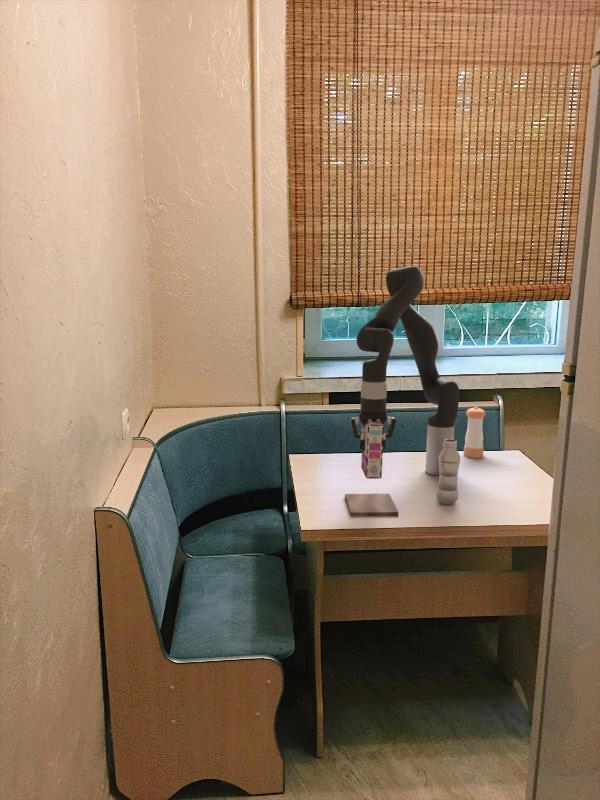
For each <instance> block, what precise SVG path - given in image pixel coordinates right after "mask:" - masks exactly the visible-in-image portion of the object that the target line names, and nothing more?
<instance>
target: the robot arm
mask: <svg viewBox="0 0 600 800" xmlns="http://www.w3.org/2000/svg"><path fill="white" fill-rule="evenodd" d="M424 279H425V278H424V274H423V272H422V270H421V268H420V267H418V266H415V265H411V266H409V265H408V266H406V267H405V266H404V267H399V268H396V269H395V268H393V269H391V270H389V271H388V272H386V274H385V285H386V287H387V288H386V289H387V291H388V294H389V296H390V297H389V298H387V299H386V300H385V301H384V302H383V303H382V304H381V305H380V306H379V308H378V309H377V311H376V313H375V315H374V317H373V318H371V319H370V320H369V321H368V322H367V323H365V324H364V325H363V326H362V327H361V328H360V330H359V331H358V333H357V335H356V346H357V347H358V349H359V350H360V351H362V352H366V353H367V352H368V353H378V356H377V358H374V359H367V360H365V361H363V363H362V368H361V369H362V373H361V374H362V377H361V378H362V379H361V386H360V412H359V415H358V416H355V417H352V416H351V417H349V422H350V426H351V430H352V435H353V437H354V438H355V439H359V441H358V442H359V443H358V445H359V446H358V447H359V449H360V451H361V453H362V452H365V440H364V438H365V433H366V422H372V421H376V422H382V424H383V425H385V424H386V422H387V423H388V427H387V431H386V432H384V433H383V451H385V450H386V440H387V439H391V438H392V437H393V434H394V430H395V426H396V423H397V418H395V416H388V415H387V396H388V392H387V391H388V390H387V389H388V387H387V367H388V363H389V359H390V355H391V351H392V349H393V346H394V341H395V337H394V334H393V332H394V330H395V329H396V327H397V325H398V323H399V321H400V322H401V324H402V327H403V330H404V333H405V337H406V338H407V342H408V345H409V348H410V351H411V353H412V355H413V358H414V362H415V364H416V368H417V371H418V375H419V379H420V382H421V387H422V390H423V391H422V392H423V396H424V397H425V399H426V400H427V402H429V403H431V404H433V405H436V406H437V409H436V413H432V414H430V415H429V416H428V417H427V430H426V431H427V432H426V453H425V472H426V473H427V474H428V475H432V476H438V477H439V474H440V473H439V454H440V453H441V451H442V450H443V449H444V446H443V445H444V440H446V439H453V440H455V424H456V420H457V418H458V413H459V412H458V411H459V404H460V403H459V401H460V387H459V385H458V383H456V381H453V380H450V379H445V378H442V377H441V376H440V374H439V371H438V368H437V365H436V360H437V359H436V358H437V355H438V351H439V343H438V342H439V341H438V338H437V335H436V332H435V329H434V327H433V325H432V324H431V322H430V321H429V320H428V319H427V318H426V317H424V316H423V315H422V314H421V313H420V312H418V310H416V309H415V308H414V307H413V306H412V303H413V302H414V301H415V299H416V298H418V296H419V295H420V294H421V292H422V290H423V288H424V285H425V280H424ZM359 421H360V423H361V424H362V427H361V430H360V433H359V432H358V429H357V425H358V423H359Z"/></svg>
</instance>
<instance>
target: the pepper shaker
mask: <svg viewBox="0 0 600 800" xmlns="http://www.w3.org/2000/svg"><path fill="white" fill-rule="evenodd" d="M465 414H466V417H467V426H466V427H467V429H466V432H465V437H464V440H465V442H464V443H465V444H464V446H463V456H464V457H466V458H469V457H471V459H481V458H483V457H484V444H483V443H484V431H483V425H484V424H483V422H484V418H485V416H486V411H485V410H484V409H482V408H479V407H478V406H474V407H471V408H468V409H467V410H466V413H465Z"/></svg>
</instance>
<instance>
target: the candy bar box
mask: <svg viewBox="0 0 600 800" xmlns="http://www.w3.org/2000/svg"><path fill="white" fill-rule="evenodd" d="M384 425H385V424H382V422H376V421H372V422H366V433H365V438H364V440H365V452H362V451H361V462H360V463H361V464H360V465H361V466H360V467H361V470H362V472H363V475H364V477H365V479H369V480H370V479H374V480H377V479H378V480H380V479H382V478H383V477H382V475H383V453H384V450H383V433H385V429H384V428H385V426H384Z"/></svg>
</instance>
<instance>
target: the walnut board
mask: <svg viewBox="0 0 600 800" xmlns="http://www.w3.org/2000/svg"><path fill="white" fill-rule="evenodd" d="M344 499H345V502H346V506H347V509H348V512H349V515H350V517H397V516H398V517H399V510H398V508H397V507H396V504H395V502H394V500H393V498H392V496H391V495H390V493H345V494H344Z"/></svg>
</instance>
